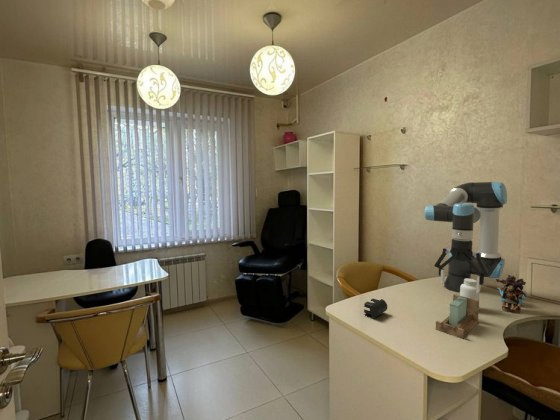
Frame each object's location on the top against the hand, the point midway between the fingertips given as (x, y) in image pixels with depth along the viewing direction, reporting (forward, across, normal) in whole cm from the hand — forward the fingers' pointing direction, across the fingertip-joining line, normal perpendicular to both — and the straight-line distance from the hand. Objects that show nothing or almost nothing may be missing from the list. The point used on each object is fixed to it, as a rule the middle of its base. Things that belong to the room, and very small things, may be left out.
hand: (459, 287), depth 121 cm
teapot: (+18, +10, +49) cm, 54 cm away
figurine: (+18, +12, +37) cm, 43 cm away
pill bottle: (+18, -2, +23) cm, 29 cm away
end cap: (+17, -29, -19) cm, 39 cm away
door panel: (+16, 0, 0) cm, 16 cm away
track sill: (+17, 0, -1) cm, 17 cm away
